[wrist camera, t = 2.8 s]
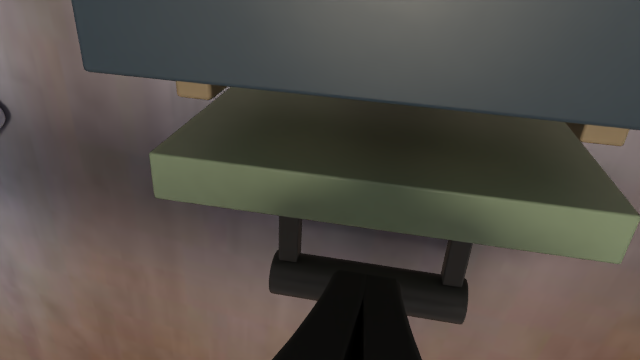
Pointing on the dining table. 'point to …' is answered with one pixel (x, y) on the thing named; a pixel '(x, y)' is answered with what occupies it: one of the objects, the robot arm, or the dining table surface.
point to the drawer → (396, 183)
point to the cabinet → (386, 51)
